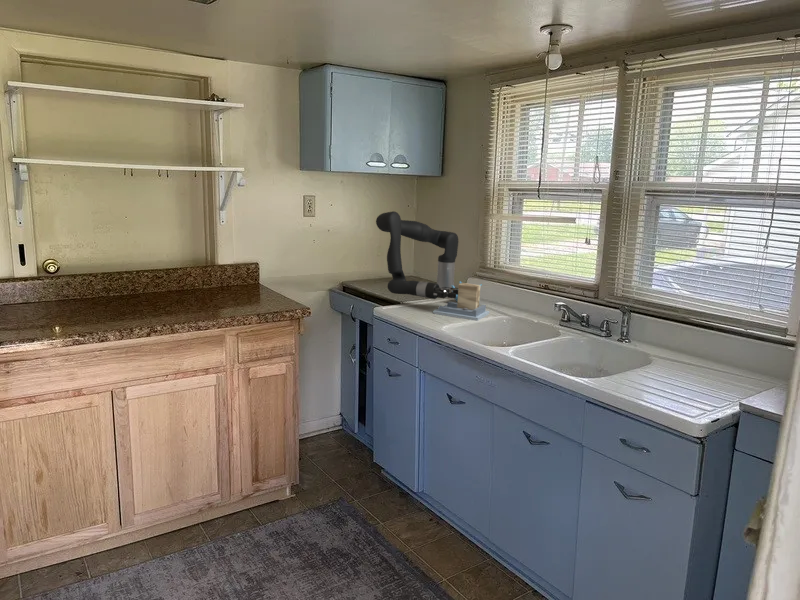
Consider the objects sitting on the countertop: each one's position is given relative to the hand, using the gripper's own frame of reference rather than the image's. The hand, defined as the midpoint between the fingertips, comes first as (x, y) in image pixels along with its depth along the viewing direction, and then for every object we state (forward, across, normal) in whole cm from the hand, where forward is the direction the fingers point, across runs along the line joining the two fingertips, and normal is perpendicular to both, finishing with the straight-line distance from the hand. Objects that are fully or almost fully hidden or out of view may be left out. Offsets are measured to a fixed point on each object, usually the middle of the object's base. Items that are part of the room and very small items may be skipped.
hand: (459, 294), depth 275 cm
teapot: (-4, +21, +9) cm, 23 cm away
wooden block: (+5, 0, +8) cm, 9 cm away
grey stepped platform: (+2, 0, +9) cm, 9 cm away
